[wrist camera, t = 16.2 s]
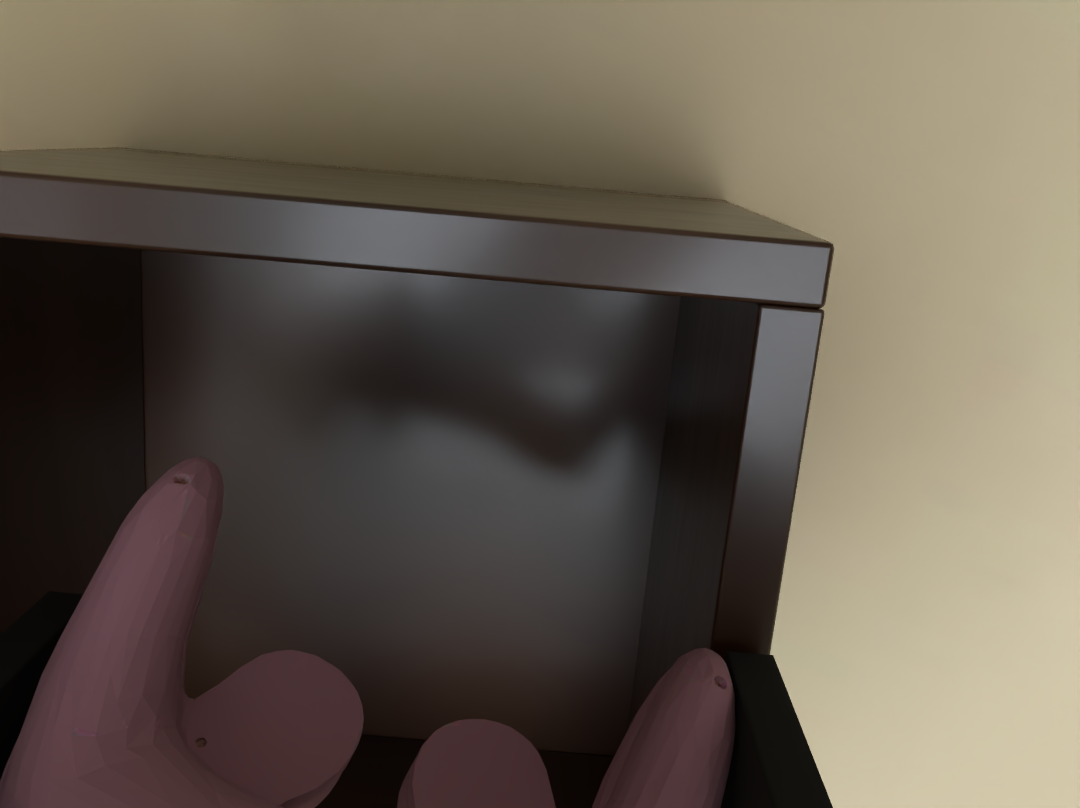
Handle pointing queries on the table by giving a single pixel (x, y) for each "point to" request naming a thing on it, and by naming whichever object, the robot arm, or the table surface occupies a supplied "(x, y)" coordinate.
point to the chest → (413, 427)
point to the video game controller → (291, 705)
